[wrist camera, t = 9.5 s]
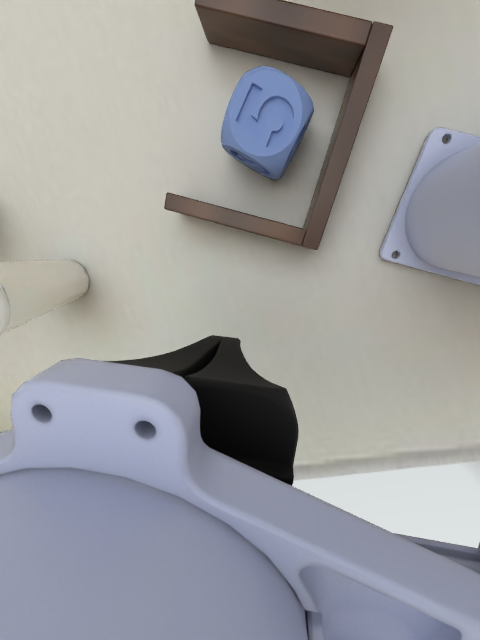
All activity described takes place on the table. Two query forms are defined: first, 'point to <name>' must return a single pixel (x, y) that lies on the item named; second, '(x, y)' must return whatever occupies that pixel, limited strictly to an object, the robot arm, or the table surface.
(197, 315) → the table surface
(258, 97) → the decorative dice
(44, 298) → the milkshake
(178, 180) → the table surface
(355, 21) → the walnut bay
